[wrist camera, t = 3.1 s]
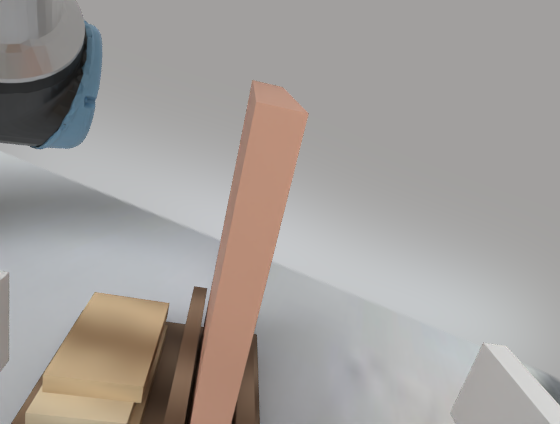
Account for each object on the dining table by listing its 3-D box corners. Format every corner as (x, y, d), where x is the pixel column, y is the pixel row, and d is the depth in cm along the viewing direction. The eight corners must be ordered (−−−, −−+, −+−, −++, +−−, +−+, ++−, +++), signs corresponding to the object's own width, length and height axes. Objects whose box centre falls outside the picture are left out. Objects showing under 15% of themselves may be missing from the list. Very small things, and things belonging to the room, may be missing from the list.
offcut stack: (90, 327, 31) (93, 286, 30) (165, 338, 32) (172, 298, 31) (22, 447, 22) (23, 394, 20) (132, 457, 22) (139, 407, 21)
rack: (82, 325, 33) (86, 265, 31) (253, 348, 35) (266, 294, 33) (-25, 503, 20) (-29, 419, 18) (256, 523, 22) (279, 450, 20)
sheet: (202, 334, 33) (252, 79, 26) (226, 338, 33) (282, 87, 27) (179, 479, 22) (256, 101, 15) (216, 482, 22) (308, 113, 15)
